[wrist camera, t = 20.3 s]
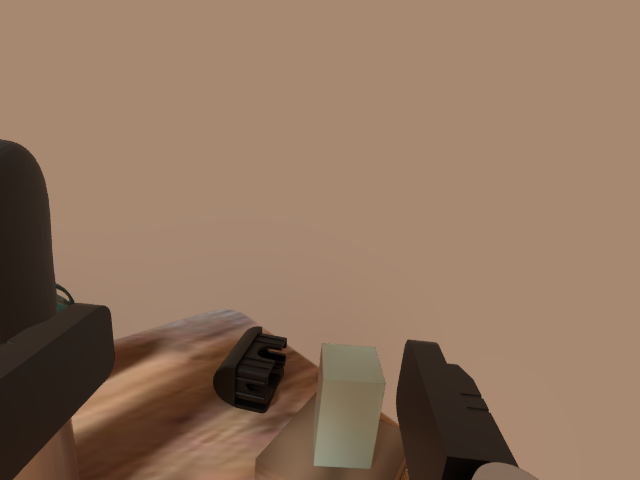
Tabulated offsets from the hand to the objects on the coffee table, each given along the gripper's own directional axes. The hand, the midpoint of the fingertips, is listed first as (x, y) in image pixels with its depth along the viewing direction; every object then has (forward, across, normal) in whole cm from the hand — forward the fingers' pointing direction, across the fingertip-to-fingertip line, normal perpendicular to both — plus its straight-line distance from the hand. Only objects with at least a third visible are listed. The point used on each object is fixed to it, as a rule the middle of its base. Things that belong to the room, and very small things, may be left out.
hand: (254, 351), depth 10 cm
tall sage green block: (+22, -5, +25) cm, 34 cm away
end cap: (+34, +7, +30) cm, 46 cm away
